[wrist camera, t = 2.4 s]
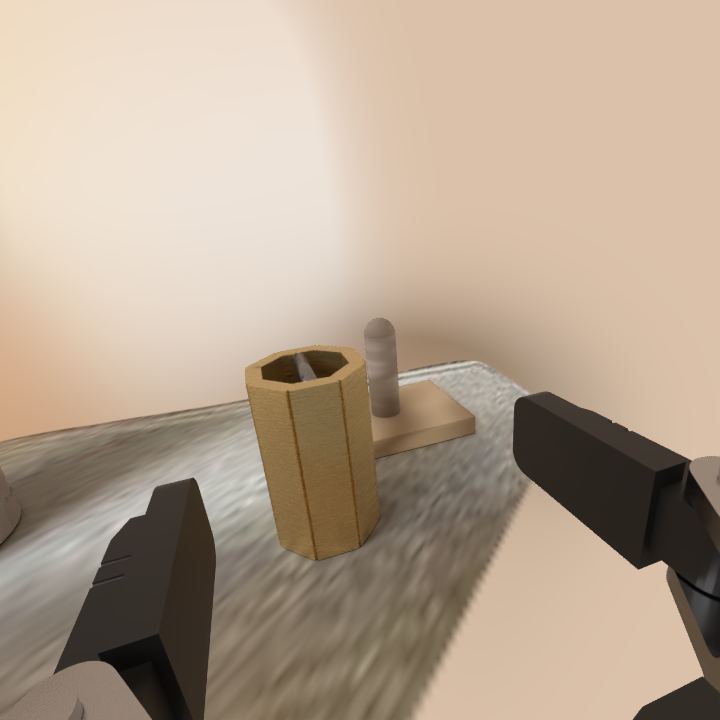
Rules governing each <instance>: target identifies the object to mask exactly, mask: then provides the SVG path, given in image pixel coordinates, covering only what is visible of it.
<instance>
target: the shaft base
mask: <svg viewBox="0 0 720 720" xmlns="http://www.w3.org/2000/svg"><path fill="white" fill-rule="evenodd" d="M364 337H365V346H366V358H367V369H368V380H369V390H370V393H368V394H369V405H370V415H371V426H372V436H373V447H374V457H375V459H376V458H380V457H384V456H388V455H392V454H395V453H399V452H403V451H407V450H411V449H415V448H419V447H423V446H427V445H430V444H434V443H438V442H442V441H446V440H450V439H454V438H458V437H462V436H466V435H469V434H473V433H475V416H474V415H473V414H471V413H470V412H469V411H468V410H466V409H465V408H464V407H463V406H461V405H460V404H459V403H458V402H456V401H455V400H454V399H453V398H451V397H450V396H449V395H448V394H446V393H445V392H444V391H443V390H441V389H440V388H439V387H438V386H436V385H435V384H434V383H433V382H431V381H430V380H428V381H423V382H418V383H413V384H409V385H404V386H398V371H397V355H396V340H395V330H394V327H393V325H392V324H391V323H390V322H389V321H388V320H386V319H383V318H377V319H373V320H372V321H370V322H369V323H368V324H367V326H366V328H365V332H364Z"/></svg>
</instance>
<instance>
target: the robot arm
mask: <svg viewBox="0 0 720 720" xmlns="http://www.w3.org/2000/svg"><path fill="white" fill-rule="evenodd" d="M513 454H514V458H515V461H516V463H517V465H518V467H519V468H520V470H521V471H522V472H523V473H524V474H525V475H526V476H528V477H529V478H530V479H531V480H532V481H534V482H535V483H536V484H537V485H538V486H540V487H541V488H542V489H543V490H544V491H546V492H547V493H548V494H549V495H550V496H551V497H553V498H554V499H555V500H556V501H557V502H559V503H560V504H561V505H562V506H563V507H565V508H566V509H567V510H568V511H569V512H571V513H572V514H573V515H574V516H575V517H576V518H578V519H579V520H580V521H581V522H582V523H583V524H585V525H586V526H587V527H588V528H590V529H591V530H592V531H593V532H594V533H595V534H597V535H598V536H599V537H600V538H601V539H602V540H604V541H605V542H606V543H607V544H608V545H610V546H611V547H612V548H613V549H614V550H616V551H617V552H618V553H619V554H620V555H621V556H623V557H624V558H625V559H626V560H627V561H629V562H630V563H631V564H632V565H633V566H635V567H636V568H637V569H641V568H643V567H646V566H648V565H651V564H654V563H656V562H659V561H661V560H662V561H663V562H665V563H666V564H667V565H668V569H667V574H666V576H667V582H668V585H669V587H670V590H671V592H672V595H673V597H674V600H675V603H676V605H677V608H678V610H679V613H680V615H681V618H682V620H683V623H684V625H685V628H686V630H687V633H688V635H689V638H690V640H691V643H692V645H693V648H694V650H695V653H696V656H697V658H698V661H699V663H700V666H701V668H702V671H703V674H704V677H701V678H699V679H696V680H695V681H693V682H691V683H689V684H687V685H685V686H683V687H681V688H679V689H677V690H675V691H673V692H671V693H669V694H667V695H665V696H663V697H661V698H659V699H657V700H655V701H653V702H651V703H649V704H647V705H645V706H643V707H642V708H641V709H640V711H639V712H638V713H637V715H636V716H635V717H634V719H633V720H720V457H716V456H709V457H701V458H698V459H695V460H693V461H691V460H689V459H687V458H685V457H683V456H681V455H679V454H677V453H675V452H673V451H671V450H669V449H667V448H665V447H663V446H661V445H659V444H657V443H655V442H653V441H651V440H649V439H647V438H645V437H643V436H641V435H639V434H637V433H635V432H633V431H630V432H629V431H628V429H627V428H625V427H623V426H621V425H619V424H617V423H612V421H611V420H609V419H607V418H605V417H603V416H601V415H599V414H597V413H595V412H593V411H590V410H587V409H583V408H580V407H578V406H576V405H574V404H572V403H570V402H568V401H566V400H564V399H562V398H560V397H558V396H556V395H554V394H552V393H550V392H541V393H537V394H533V395H529V396H525V397H521V398H519V399H517V401H516V402H515V406H514V431H513ZM20 516H21V509H20V506H19V504H18V502H17V500H16V497H15V495H14V493H13V490H12V488H11V486H10V485H9V483H8V481H7V479H6V477H5V475H4V473H3V471H2V469H1V467H0V544H1V543H2V542H3V541H4V540H5V539H6V538H7V536H8V535H9V534H10V533H11V532H12V531H13V530H14V528H15V527H16V525H17V523H18V522H19V520H20ZM215 568H216V553H215V544H214V538H213V534H212V531H211V527H210V524H209V520H208V517H207V514H206V510H205V507H204V504H203V500H202V497H201V493H200V490H199V487H198V484H197V482H196V480H195V479H194V478H190V479H186V480H182V481H178V482H174V483H170V484H166V485H161V486H157V487H156V488H155V489H154V491H153V494H152V497H151V500H150V503H149V505H148V508H147V511H146V514H145V515H142V516H138V517H134V518H130V519H129V521H128V522H127V523H126V524H125V525H124V526H123V527H122V528H121V529H120V531H119V532H118V533H117V534H116V535H115V536H114V537H113V538H112V540H111V541H110V543H109V546H108V548H107V550H106V553H105V555H104V557H103V560H102V562H101V567H100V568H99V569H98V571H97V574H96V576H95V578H94V581H93V588H90V590H89V592H88V595H87V597H86V599H85V602H84V604H83V606H82V609H81V611H80V613H79V616H78V618H77V620H76V623H75V625H74V627H73V630H72V632H71V634H70V637H69V639H68V641H67V644H66V646H65V648H64V651H63V653H62V655H61V658H60V660H59V662H58V665H57V667H56V669H55V672H54V674H53V676H51V677H49V678H48V679H46V680H45V681H43V682H42V683H40V684H39V685H38V686H36V687H35V688H34V689H32V690H31V691H30V692H29V693H28V694H27V695H25V696H24V697H23V698H22V699H21V700H20V701H19V702H18V703H17V704H16V705H15V706H14V707H13V708H12V709H11V710H10V711H9V712H8V714H7V715H6V716H5V717H4V718H3V719H2V720H204V708H205V695H206V683H207V670H208V657H209V644H210V632H211V619H212V606H213V593H214V581H215Z"/></svg>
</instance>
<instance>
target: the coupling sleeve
mask: <svg viewBox="0 0 720 720" xmlns="http://www.w3.org/2000/svg"><path fill="white" fill-rule="evenodd" d="M245 376H246V388H247V392H248V397H249V402H250V406H251V411H252V416H253V420H254V425H255V430H256V434H257V439H258V444H259V448H260V453H261V458H262V462H263V467H264V472H265V476H266V481H267V486H268V490H269V495H270V499H271V504H272V509H273V513H274V518H275V523H276V527H277V532H278V537H279V541H280V545H281V546H282V547H283V548H286V549H288V550H291V551H293V552H295V553H298V554H300V555H303V556H305V557H308V558H310V559H312V560H316V559H317V558H318V561H319V560H322V559H325V558H329V557H332V556H335V555H338V554H341V553H345V552H348V551H351V550H354V549H358V548H359V545H360V546H362V545H363V544H364V542H365V540H366V539H367V537H368V536H369V534H370V533H371V531H372V529H373V528H374V526H375V525H376V523H377V522H378V520H379V518H380V510H379V499H378V489H377V478H376V468H375V457H374V447H373V436H372V426H371V415H370V405H369V394H368V383H367V373H366V362H365V360H364V359H363V358H361V356H360V355H359V354H358V353H357V352H356V351H355V350H354V349H352V348H344V347H333V346H320V345H318V346H310V347H305V348H299V349H293V350H287V351H281V352H277V353H274V354H272V355H270V356H268V357H266V358H264V359H262V360H260V361H258V362H256V363H254V364H252V365H250V366H248V367H247V368H246V369H245Z"/></svg>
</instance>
